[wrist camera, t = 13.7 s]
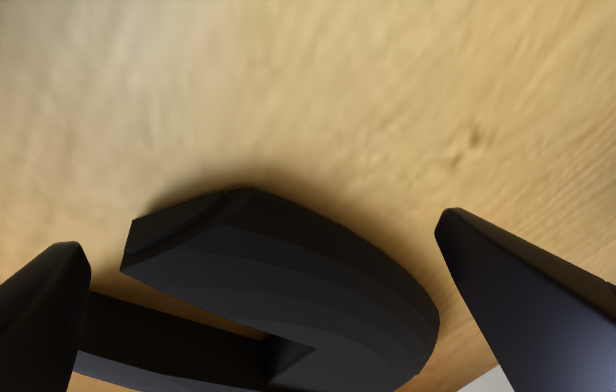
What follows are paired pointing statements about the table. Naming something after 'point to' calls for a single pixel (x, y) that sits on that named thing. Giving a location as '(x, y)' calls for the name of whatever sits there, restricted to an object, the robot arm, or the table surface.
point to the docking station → (259, 304)
